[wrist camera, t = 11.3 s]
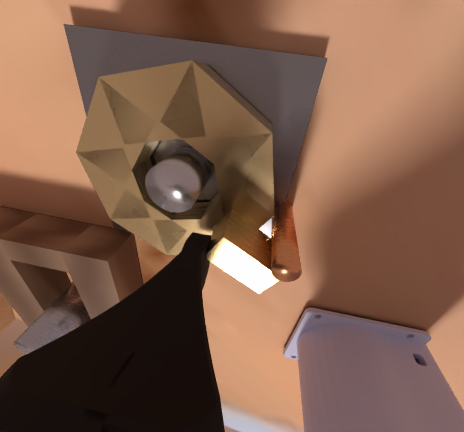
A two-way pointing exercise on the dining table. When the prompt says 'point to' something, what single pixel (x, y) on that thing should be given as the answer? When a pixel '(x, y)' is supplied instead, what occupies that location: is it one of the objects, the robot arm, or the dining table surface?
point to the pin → (54, 321)
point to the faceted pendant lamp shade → (200, 138)
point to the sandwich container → (5, 313)
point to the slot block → (64, 263)
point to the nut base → (243, 82)
